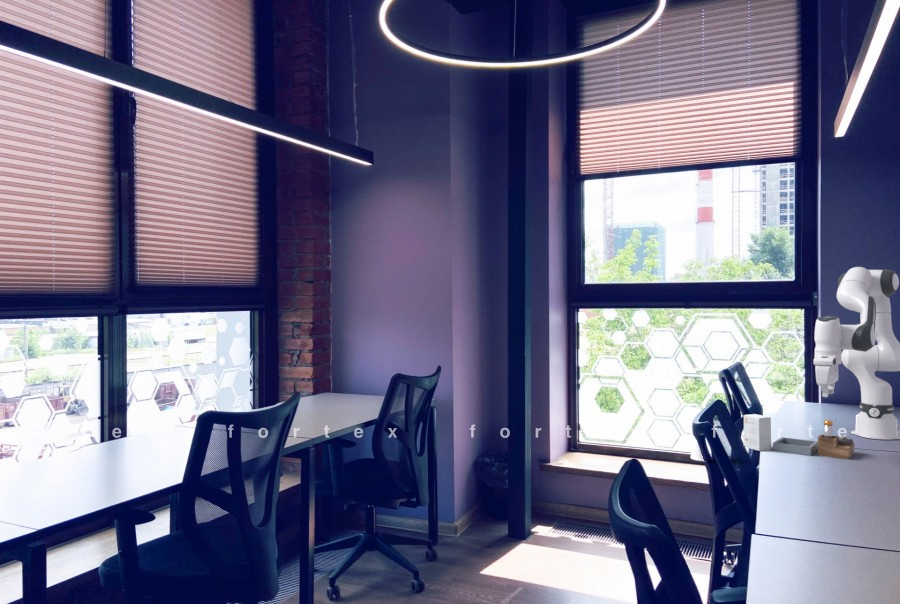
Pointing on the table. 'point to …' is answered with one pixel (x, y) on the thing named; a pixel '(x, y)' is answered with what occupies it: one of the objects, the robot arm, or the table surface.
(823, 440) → the wooden holder block
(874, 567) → the table surface
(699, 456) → the mug
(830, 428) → the lock pin
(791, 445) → the tray
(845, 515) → the table surface
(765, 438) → the small box
